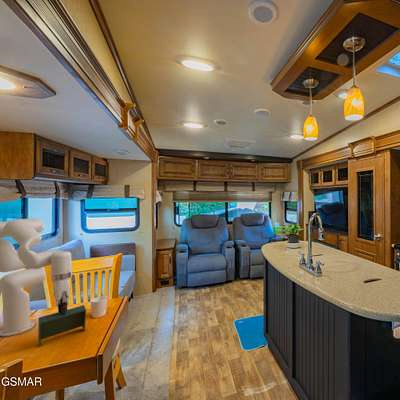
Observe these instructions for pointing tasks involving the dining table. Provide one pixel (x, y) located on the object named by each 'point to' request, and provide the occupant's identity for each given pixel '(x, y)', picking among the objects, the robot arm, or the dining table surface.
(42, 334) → the dustpan
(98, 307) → the white cup
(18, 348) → the dining table surface
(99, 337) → the dining table surface
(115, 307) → the dining table surface
